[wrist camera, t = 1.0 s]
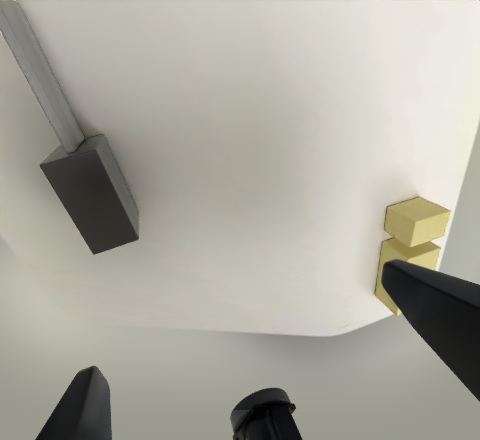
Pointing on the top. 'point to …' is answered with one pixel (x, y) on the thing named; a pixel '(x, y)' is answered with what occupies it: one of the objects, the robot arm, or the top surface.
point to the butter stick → (417, 255)
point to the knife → (74, 150)
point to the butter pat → (416, 221)
